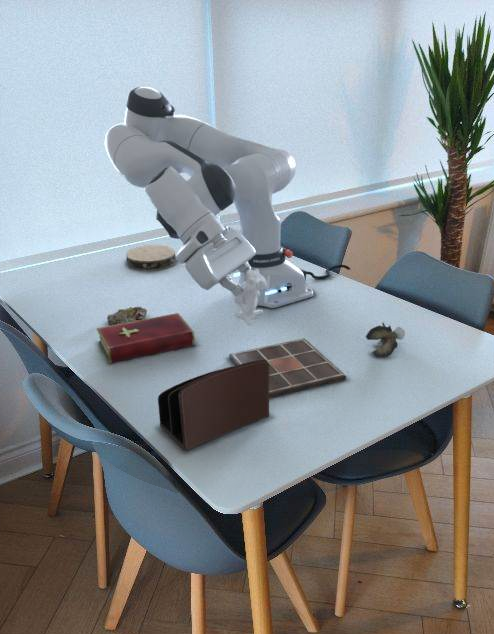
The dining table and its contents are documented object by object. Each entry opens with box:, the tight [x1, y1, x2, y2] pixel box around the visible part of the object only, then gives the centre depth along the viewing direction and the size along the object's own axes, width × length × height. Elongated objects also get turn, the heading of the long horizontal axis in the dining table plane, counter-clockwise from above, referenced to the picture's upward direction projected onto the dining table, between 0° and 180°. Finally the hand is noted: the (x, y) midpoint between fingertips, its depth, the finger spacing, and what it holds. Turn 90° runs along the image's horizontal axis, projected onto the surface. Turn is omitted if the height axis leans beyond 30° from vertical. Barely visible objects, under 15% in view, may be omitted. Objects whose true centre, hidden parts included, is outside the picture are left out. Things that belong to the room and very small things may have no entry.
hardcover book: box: [96, 312, 196, 364], centre depth 148 cm, size 12×21×4 cm, turn 115°
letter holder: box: [157, 359, 270, 452], centre depth 117 cm, size 10×20×14 cm, turn 126°
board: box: [228, 337, 347, 399], centre depth 139 cm, size 20×20×1 cm
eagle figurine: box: [365, 321, 406, 358], centre depth 145 cm, size 8×7×9 cm
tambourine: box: [125, 244, 177, 271], centre depth 198 cm, size 16×16×3 cm
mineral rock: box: [106, 306, 148, 325], centre depth 161 cm, size 11×4×8 cm
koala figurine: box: [234, 269, 268, 326], centre depth 129 cm, size 8×7×12 cm
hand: (246, 288), depth 129 cm, fingers closed on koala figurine, 5 cm apart
